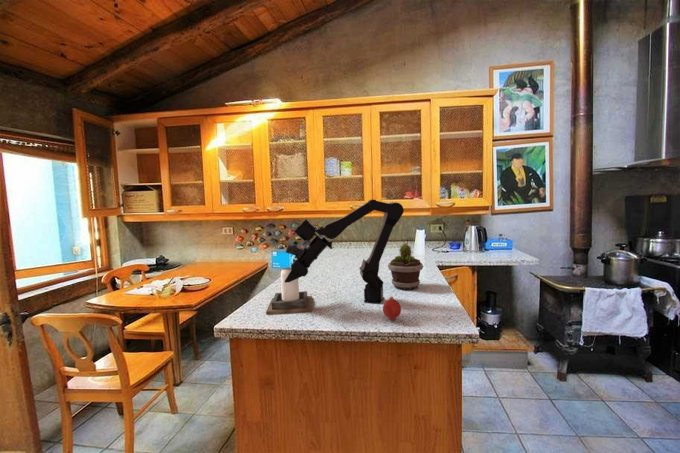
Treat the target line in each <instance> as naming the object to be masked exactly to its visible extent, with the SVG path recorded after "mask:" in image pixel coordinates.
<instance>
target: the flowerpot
mask: <svg viewBox="0 0 680 453" xmlns="http://www.w3.org/2000/svg"><path fill="white" fill-rule="evenodd" d="M412 249H413V248H412V246H410V245H409V244H408V242H402V243H401V245H400V246H399V250H398V251H399V254H397V255H395V256H394V258H393V259H391V261H390V262H388V265H387V268H388V270H389V271H390V272H391V276H392V279H391V283H392V285H393V286H394V288H395V289H398V290H402V291H403V290H405V291H409V290H411V289H412V290H415V289H417V288H418V286H420V283H421V280H420V274H421V271H422V270H423V268H424V265H423V263H422V262H421V260H420V259H417V258H416V257H415V256H413V255H412V253H413V250H412Z"/></svg>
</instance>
